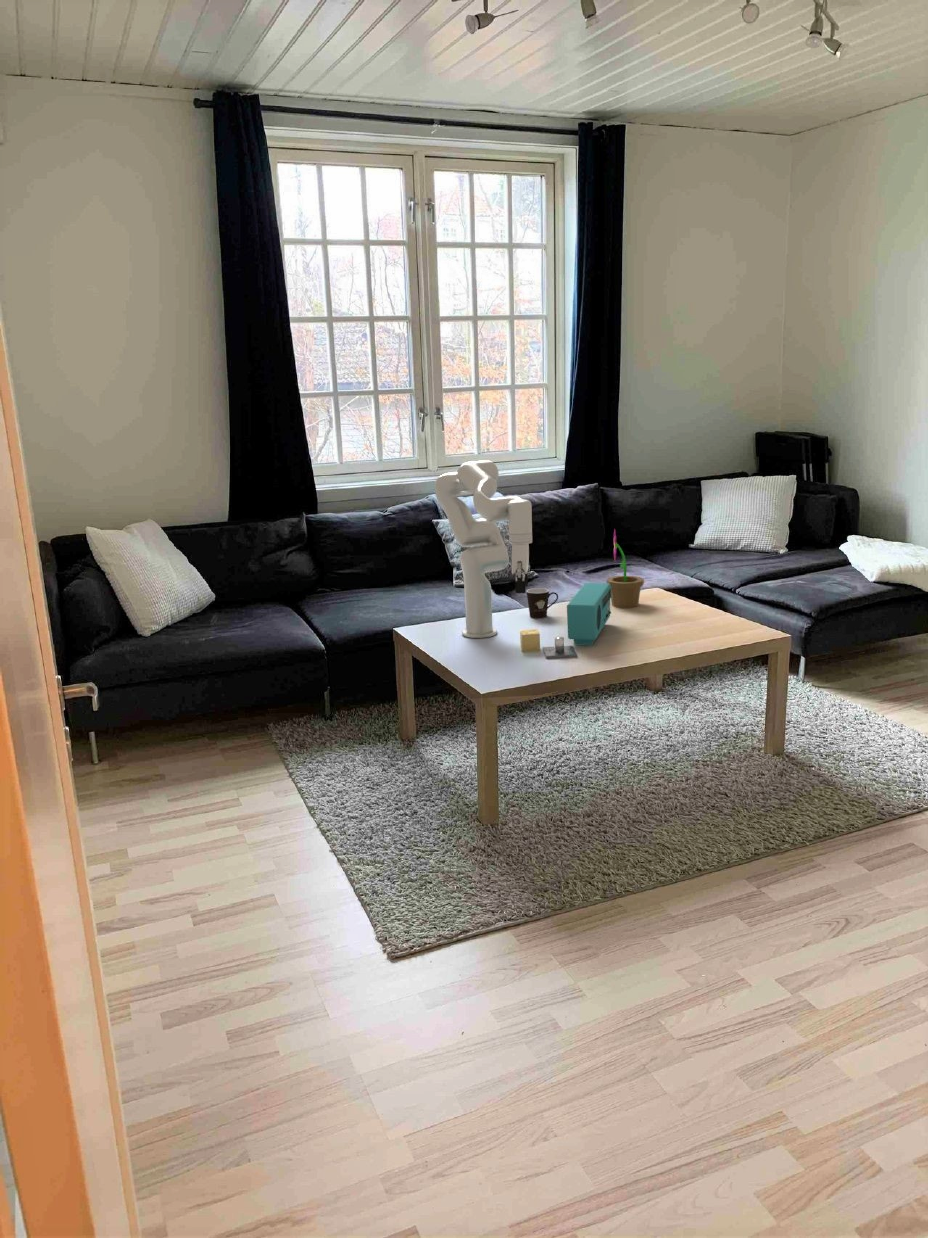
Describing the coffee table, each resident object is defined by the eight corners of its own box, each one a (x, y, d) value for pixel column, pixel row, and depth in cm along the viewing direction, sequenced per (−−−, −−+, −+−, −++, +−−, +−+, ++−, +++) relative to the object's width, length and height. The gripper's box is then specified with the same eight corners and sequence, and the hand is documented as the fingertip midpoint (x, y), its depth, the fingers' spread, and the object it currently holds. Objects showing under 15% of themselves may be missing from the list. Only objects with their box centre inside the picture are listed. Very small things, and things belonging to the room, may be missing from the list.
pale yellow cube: (520, 646, 325) (520, 629, 323) (538, 646, 325) (537, 629, 324) (522, 652, 319) (521, 634, 318) (540, 651, 319) (539, 633, 318)
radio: (597, 649, 319) (597, 605, 315) (566, 647, 322) (566, 604, 318) (613, 622, 350) (613, 582, 347) (585, 621, 354) (584, 582, 350)
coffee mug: (525, 618, 360) (524, 593, 358) (528, 613, 368) (528, 588, 366) (555, 619, 358) (555, 593, 355) (558, 613, 366) (558, 588, 363)
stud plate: (542, 650, 320) (542, 634, 319) (572, 648, 321) (572, 633, 319) (546, 658, 311) (546, 642, 309) (576, 657, 311) (576, 641, 310)
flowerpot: (605, 600, 382) (605, 526, 374) (642, 600, 381) (642, 525, 373) (607, 609, 368) (607, 533, 361) (645, 609, 367) (645, 532, 359)
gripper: (511, 533, 317) (512, 583, 322) (506, 543, 301) (507, 595, 305) (534, 533, 316) (534, 583, 321) (530, 542, 300) (531, 595, 304)
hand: (521, 589), depth 313 cm, fingers open, 9 cm apart
